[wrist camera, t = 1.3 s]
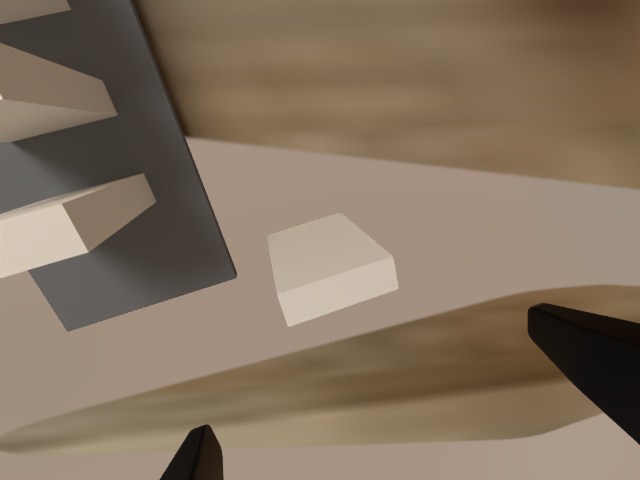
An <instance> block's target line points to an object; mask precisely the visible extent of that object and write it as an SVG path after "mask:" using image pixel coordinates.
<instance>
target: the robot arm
mask: <svg viewBox="0 0 640 480" xmlns="http://www.w3.org/2000/svg"><path fill="white" fill-rule="evenodd" d="M528 334H529V336H530V338H531V339H532V340H533V342H534V343H535V344H536V345H537V346H538V347H539V348H540V349H541V350H542V351H543V352H544V353H545V354H546V355H547V357H548V358H549V359H550V360H551V361H552V362H553V363H554V364H555V365H556V366H557V367H558V368H559V369H560V370H561V372H562V373H563V374H564V375H565V376H566V377H567V378H568V379H569V380H570V381H571V382H572V383H573V384H574V385H575V386H576V387H577V388H578V389H579V390H580V391H581V392H582V393H583V394H584V395H585V396H587V397H588V398H589V399H590V400H591V401H592V402H593V403H594V404H595V405H596V406H598V407H599V408H600V409H601V410H602V411H603V412H604V413H605V414H606V415H607V416H609V417H610V418H611V419H612V420H613V421H614V422H615V423H616V424H617V425H618V426H620V427H621V428H622V429H623V430H624V431H625V432H626V433H627V434H628V435H629V436H631V437H632V438H633V439H634V440H635V441H636V442H637V443H638V444H639V445H640V323H636V322H631V321H626V320H622V319H617V318H612V317H608V316H603V315H598V314H594V313H589V312H584V311H580V310H575V309H570V308H566V307H561V306H556V305H552V304H547V303H540V304H537V305H535V306H532V307H530V308H529V309H528ZM160 480H223V456H222V450H221V446H220V444H219V442H218V440H217V438H216V436H215V434H214V432H213V430H212V428H211V427H210V426H209V425H203V426H200V427H197V428H195V429H193V430H191V431H190V433H189V434H188V436H187V437H186V439H185V440H184V442H183V443H182V445H181V447H180V448H179V450H178V451H177V453H176V454H175V456H174V458H173V459H172V461H171V462H170V464H169V466H168V467H167V469H166V470H165V472H164V473H163V475H162V477H161V478H160Z"/></svg>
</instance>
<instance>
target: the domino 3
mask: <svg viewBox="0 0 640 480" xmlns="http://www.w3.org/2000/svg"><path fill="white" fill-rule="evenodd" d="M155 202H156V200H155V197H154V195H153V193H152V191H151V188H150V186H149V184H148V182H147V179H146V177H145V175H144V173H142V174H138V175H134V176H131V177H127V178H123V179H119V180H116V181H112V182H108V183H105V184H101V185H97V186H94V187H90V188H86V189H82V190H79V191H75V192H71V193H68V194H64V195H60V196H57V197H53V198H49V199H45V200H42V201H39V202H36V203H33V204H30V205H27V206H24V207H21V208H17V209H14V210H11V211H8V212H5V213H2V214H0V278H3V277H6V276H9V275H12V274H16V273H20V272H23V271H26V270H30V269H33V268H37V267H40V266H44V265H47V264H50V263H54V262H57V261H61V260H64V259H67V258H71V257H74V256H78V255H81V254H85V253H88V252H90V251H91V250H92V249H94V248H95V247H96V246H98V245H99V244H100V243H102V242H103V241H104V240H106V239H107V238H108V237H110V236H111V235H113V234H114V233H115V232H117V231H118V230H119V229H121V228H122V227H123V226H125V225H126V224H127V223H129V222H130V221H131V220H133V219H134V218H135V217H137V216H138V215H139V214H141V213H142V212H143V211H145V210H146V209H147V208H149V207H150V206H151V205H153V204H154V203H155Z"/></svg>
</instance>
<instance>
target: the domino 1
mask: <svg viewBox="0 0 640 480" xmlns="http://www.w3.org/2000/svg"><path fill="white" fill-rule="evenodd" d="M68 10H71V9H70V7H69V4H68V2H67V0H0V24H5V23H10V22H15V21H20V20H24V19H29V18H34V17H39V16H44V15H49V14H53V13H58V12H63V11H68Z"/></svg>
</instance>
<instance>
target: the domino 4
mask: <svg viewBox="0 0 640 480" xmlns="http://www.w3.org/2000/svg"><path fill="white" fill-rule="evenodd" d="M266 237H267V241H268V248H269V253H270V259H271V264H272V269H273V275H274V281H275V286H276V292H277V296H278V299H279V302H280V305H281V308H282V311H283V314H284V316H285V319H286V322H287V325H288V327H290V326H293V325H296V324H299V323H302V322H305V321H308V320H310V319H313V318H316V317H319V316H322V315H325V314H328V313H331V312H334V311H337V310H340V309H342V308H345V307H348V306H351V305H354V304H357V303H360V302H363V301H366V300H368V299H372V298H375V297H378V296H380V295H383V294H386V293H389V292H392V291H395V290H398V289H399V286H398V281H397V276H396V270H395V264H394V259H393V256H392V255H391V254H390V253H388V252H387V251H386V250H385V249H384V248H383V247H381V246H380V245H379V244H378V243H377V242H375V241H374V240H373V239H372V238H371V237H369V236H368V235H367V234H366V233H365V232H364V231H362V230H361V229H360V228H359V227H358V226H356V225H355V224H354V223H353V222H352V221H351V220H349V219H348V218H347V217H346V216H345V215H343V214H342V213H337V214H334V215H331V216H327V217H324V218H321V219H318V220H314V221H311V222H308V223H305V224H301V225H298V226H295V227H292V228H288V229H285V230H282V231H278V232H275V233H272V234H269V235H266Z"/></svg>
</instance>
